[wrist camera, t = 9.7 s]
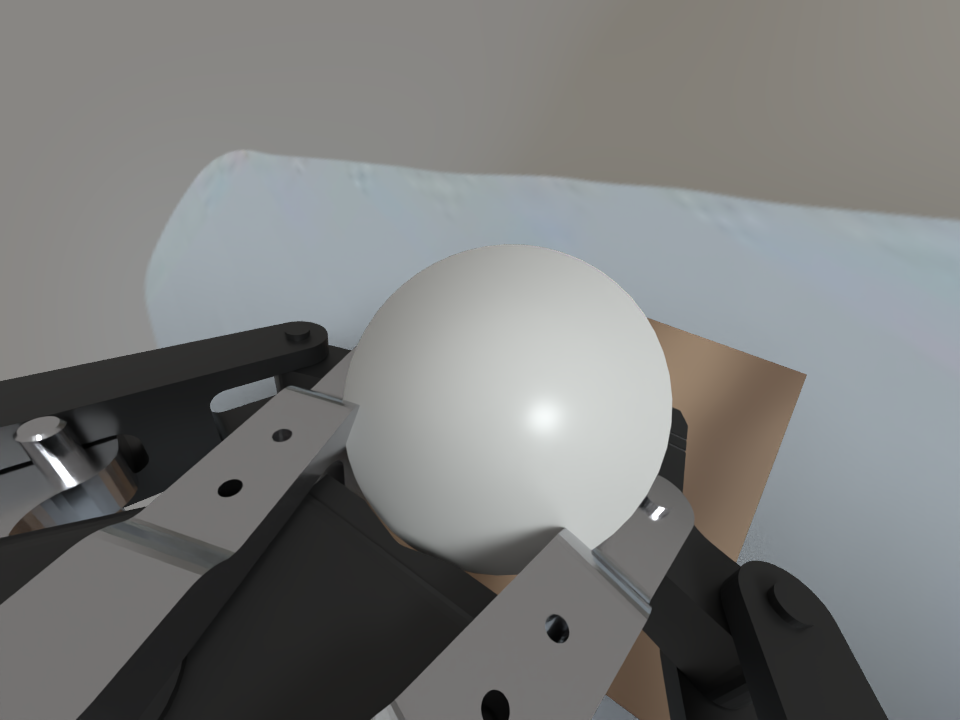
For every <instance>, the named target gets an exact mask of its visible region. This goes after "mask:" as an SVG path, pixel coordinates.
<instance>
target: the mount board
mask: <svg viewBox="0 0 960 720" xmlns="http://www.w3.org/2000/svg"><path fill="white" fill-rule="evenodd" d="M647 319H648V321H649V323H650V324H651V326H652V328H653V329H654V331H655V333H656V336H657V338H658V340H659V343H660V345H661V347H662V350H663V352H664V356H665V359H666V363H667V367H668V371H669V375H670V383H671V392H672V407H673V408H676V409H678V410H680V411H681V413H682V415H683V417H684V419H685V421H686V423H687V425H688V432H687V440H686V441H687V445H686V451H685V453H686V458H685V471H684V484H683V494H684V496H685V497H686V498H687V500H688V501H689V503H690V505H691V507H692V509H693V512H694V518H695V521H694V525H695V526H696V528H697V529H698V530H699V531H700V532H701V533H702V534H703V535H704V537H705V538H706V539H708V540H709V541H710V542H711V543H712V544H713V545H715V546H716V547H717V548H718V549H720V550H721V551H722V552H723V553H724V554H726V555H727V556H728V557H729V558H731V559H732V560H733V561H734V562H737V559H738V556H739V554H740V551H741V548H742V546H743V543H744V540H745V538H746V535H747V532H748V530H749V527H750V524H751V522H752V519H753V516H754V514H755V511H756V508H757V506H758V503H759V501H760V498H761V495H762V493H763V490H764V487H765V485H766V482H767V479H768V477H769V474H770V471H771V469H772V466H773V463H774V461H775V458H776V455H777V453H778V450H779V447H780V445H781V442H782V439H783V437H784V434H785V431H786V429H787V426H788V423H789V421H790V418H791V415H792V413H793V410H794V407H795V405H796V402H797V399H798V397H799V394H800V392H801V389H802V386H803V384H804V381H805V378H806V376H807V375H806V374H804V373H801V372H798V371H795V370H792V369H789V368H787V367H784V366H781V365H778V364H775V363H773V362H770V361H767V360H764V359H761V358H759V357H756V356H753V355H750V354H747V353H745V352H742V351H739V350H736V349H733V348H730V347H728V346H725V345H722V344H719V343H716V342H714V341H711V340H708V339H705V338H702V337H700V336H697V335H694V334H691V333H688V332H686V331H683V330H680V329H677V328H674V327H671V326H669V325H666V324H663V323H660V322H657V321H655V320H652V319H649V318H647ZM367 504H368V505H369V506H370V508H371V509H372V510H373V508H372V507H371V505H370V504H369V502H368V501H367ZM373 512H374V513H375V511H374V510H373ZM375 514H376V513H375ZM376 515H377V514H376ZM377 517H378V518H379V516H378V515H377ZM379 519H380V518H379ZM380 521H381V522H382V523H383V525H384V526H385V527H386V529H387V530H388V531H389V533H390V534H391V535H392V537H393V538H394V539H395V540H396V541H397V542H398V543H400V544H401V545H403V546H405V547H408V548H410V549H413V550H416V549H414V548H412V547H411V546H409V545H408V544H407V543H405V542H404V541H403V540H402V539H401V538H399V537H398V536H397V535H396V534H395V533H393V532H392V531H391V530H390V529H389V528H388V526H387V525H386V524H385V523H384V522H383V521H382V520H381V519H380ZM416 551H417V550H416ZM465 572H466V573H468V574H469V575H471V576H472V577H473V578H475V579H476V580H478V581H479V582H480V583H482V584H483V585H485V586H486V587H487V588H489V589H490V590H492V591H493V592H494V593H496V594H497V595H499V593H500V592H501V591H502V590H503V589H504V588H505V587H506V586H507V585H508V584H509V583H510V582H511V581H512V580H513V579H514V578H515V577H516V576H517V575H497V576H496V575H488V574H479V573H471V572H468V571H465ZM606 695H607V696H608V697H610V698H611V699H612V700H614V701H615V702H616V703H618V704H619V705H621V706H622V707H623V708H625V709H626V710H627V711H629V712H630V713H631V714H633V715H634V716H636V717H637V718H638V719H640V720H670V714H669V708H668V702H667V695H666V689H665V683H664V677H663V671H662V665H661V659H660V648H659V647H658V646H657V645H656V644H655V643H654V642H653V641H652V640H651V639H650V638H649V637H648V635H647V634H646V633H645V632H644V631H643V630H641V632H640V634H639V636H638V637H637V639H636V641H635V643H634V644H633V646H632V648H631V650H630V652H629V653H628V655H627V657H626V659H625V660H624V662H623V664H622V666H621V667H620V669H619V671H618V673H617V675H616V676H615V678H614V680H613V682H612V683H611V685H610V687H609V689H608V691H607V692H606Z"/></svg>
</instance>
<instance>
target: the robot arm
mask: <svg viewBox="0 0 960 720" xmlns="http://www.w3.org/2000/svg"><path fill="white" fill-rule="evenodd" d="M356 347H357V346H356ZM356 347H355V348H354V349H353V350H352V351H351V350H347V349H343V348H339V347H335V346H331V345H328V334H327V331H326V329H325V328H324V327H322V326H320V325H318V324H315V323H312V322H303V321H297V322H288V323H283V324H278V325H273V326H269V327H264V328H259V329H254V330H249V331H244V332H239V333H234V334H229V335H224V336H220V337H215V338H210V339H205V340H200V341H195V342H190V343H185V344H180V345H175V346H171V347H166V348H161V349H156V350H151V351H146V352H141V353H136V354H132V355H126V356H122V357H117V358H112V359H107V360H102V361H97V362H92V363H87V364H82V365H77V366H73V367H68V368H63V369H58V370H53V371H48V372H43V373H38V374H33V375H29V376H24V377H19V378H14V379H9V380H4V381H0V720H591V719H592V717H593V715H594V714H595V712H596V710H597V708H598V707H599V705H600V703H601V701H602V699H603V698H604V696H605V694H606V692H607V691H608V689H609V687H610V685H611V683H612V682H613V680H614V678H615V676H616V675H617V673H618V671H619V669H620V667H621V666H622V664H623V662H624V660H625V659H626V657H627V655H628V653H629V652H630V650H631V648H632V646H633V644H634V643H635V641H636V639H637V637H638V636H639V634H640V632H641V630H643V631H644V632H645V633H646V634H647V635H648V637H649V638H650V639H651V640H652V641H653V642H654V643H655V644H656V645H657V646H658V647H659V648H660V659H661V665H662V671H663V677H664V683H665V689H666V695H667V702H668V708H669V714H670V720H888V718H887V716H886V715H885V713H884V711H883V709H882V707H881V705H880V703H879V702H878V700H877V698H876V696H875V694H874V692H873V690H872V689H871V687H870V685H869V683H868V681H867V679H866V677H865V675H864V674H863V672H862V670H861V668H860V666H859V664H858V662H857V661H856V659H855V657H854V655H853V653H852V651H851V649H850V648H849V646H848V644H847V642H846V640H845V638H844V636H843V635H842V633H841V631H840V629H839V627H838V625H837V623H836V622H835V620H834V618H833V617H832V615H831V613H830V612H829V611H828V609H827V608H826V607H825V605H824V604H823V603H822V602H821V601H820V599H819V598H818V597H817V596H816V595H815V594H814V593H813V592H812V591H811V590H810V589H809V588H808V587H807V586H806V585H804V584H803V583H802V582H801V581H800V580H798V579H797V578H796V577H794V576H793V575H791V574H790V573H788V572H787V571H785V570H783V569H781V568H779V567H777V566H775V565H773V564H770V563H767V562H763V561H749V562H747V563H745V564H744V565H742V566H739V565H738V564H737V563H736V562H734V561H733V560H732V559H731V558H729V557H728V556H727V555H726V554H724V553H723V552H722V551H721V550H720V549H718V548H717V547H716V546H715V545H713V544H712V543H711V542H710V541H709V540H708V539H706V538H705V537H704V535H703V534H702V533H701V532H700V531H699V530H698V529H697V528H696V526H695V525H694V521H695V518H694V512H693V509H692V507H691V505H690V503H689V501H688V500H687V498H686V497H685V496H684V494H683V484H684V471H685V458H686V453H685V451H686V445H687V441H686V440H687V432H688V425H687V423H686V421H685V419H684V417H683V415H682V413H681V411H680V410H678V409H676V408H673V407H672V422H671V429H670V434H669V440H668V445H667V449H666V452H665V455H664V458H663V461H662V464H661V467H660V470H659V472H658V474H657V476H656V478H655V480H654V482H653V484H652V486H651V488H650V490H649V492H648V494H647V495H646V497H645V498H644V499H643V501H642V502H641V504H640V505H639V506H638V508H637V509H636V510H635V512H634V513H633V515H632V516H631V517H630V518H629V519H628V520H627V521H626V522H625V523H624V524H623V525H622V526H621V527H620V528H619V529H618V530H617V531H616V532H615V533H614V534H613V535H611V536H610V537H609V538H607V539H606V540H605V541H603V542H602V543H601V544H599V545H598V546H597V547H595V548H594V549H593V550H591V549H590V548H588V547H587V546H586V545H585V544H584V543H583V542H582V541H581V540H579V539H578V538H577V537H576V536H575V535H574V534H573V533H571V532H570V531H569V530H568V529H566V528H564V529H563V530H562V531H561V532H560V533H558V534H557V535H556V536H555V537H554V538H553V539H552V540H551V541H550V542H549V543H548V545H547V546H546V547H545V548H544V549H543V550H542V551H541V552H540V553H539V554H538V555H537V556H536V557H535V558H534V559H533V560H532V561H531V562H530V563H529V564H528V565H527V566H526V567H525V568H524V569H523V570H522V571H521V572H520V573H519V574H518V575H517V576H516V577H515V578H514V579H513V580H512V581H511V582H510V583H509V584H508V585H507V586H506V587H505V588H504V589H503V590H502V591H501V592H500V593H499V595H497V594H496V593H494V592H493V591H492V590H490V589H489V588H487V587H486V586H485V585H483V584H482V583H480V582H479V581H478V580H476V579H475V578H473V577H472V576H471V575H469V574H468V573H466V572H465V571H464V570H462V569H461V568H459V567H458V566H456V565H454V564H451V563H448V562H446V561H443V560H440V559H438V558H435V557H432V556H429V555H427V554H424V553H421V552H419V551H416V550H413V549H410V548H408V547H405V546H403V545H401V544H399V543H398V542H397V541H396V540H395V539H394V538H393V537H392V535H391V534H390V533H389V531H388V530H387V529H386V527H385V526H384V525H383V523H382V522H381V521H380V519H379V518H378V517H377V515H376V514H375V513H374V512H373V510H372V509H371V508H370V506H369V505H368V504H367V499H366V498H365V497H364V495H363V492H362V490H361V488H360V486H359V484H358V482H357V480H356V478H355V476H354V473H353V470H352V467H351V464H350V462H349V459H348V454H347V449H346V442H347V440H348V437H349V434H350V431H351V429H352V426H353V423H354V420H355V418H356V415H357V412H358V409H359V406H360V405H358V404H355V403H353V402H349V401H346V400H343V397H344V390H345V383H346V378H347V374H348V371H349V367H350V363H351V360H352V358H353V355H354V353H355V350H356ZM273 376H274V378H275V383H276V389H277V395H275V396H272V397H269V398H265V399H262V400H259V401H256V402H253V403H250V404H247V405H244V406H240V407H237V408H234V409H231V410H228V411H225V412H219V413H216V412H211V409H210V403H211V400H212V399H213V398H214V397H215V396H216V395H217V394H218V393H220V392H222V391H225V390H228V389H231V388H235V387H238V386H242V385H245V384H249V383H252V382H256V381H259V380H263V379H266V378H270V377H273ZM161 492H163V493H162V494H161V495H160V496H159V497H157V498H156V499H155V500H154V501H153V502H152V503H150V504H149V505H148V506H147V507H142V508H138V509H133V510H129V511H125V509H124V507H127V506H129V505H132V504H134V503H137V502H139V501H142V500H144V499H147V498H149V497H151V496H154V495H156V494H159V493H161Z"/></svg>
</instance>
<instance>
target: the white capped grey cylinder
mask: <svg viewBox="0 0 960 720" xmlns="http://www.w3.org/2000/svg"><path fill="white" fill-rule="evenodd" d="M343 400H346V401H349V402H353V403H355V404H358V405H360V406H359V409H358V412H357V415H356V418H355V420H354V423H353V426H352V429H351V431H350V434H349V437H348V440H347V442H346V449H347V454H348V459H349V462H350V464H351V467H352V470H353V473H354V476H355V478H356V480H357V482H358V484H359V486H360V488H361V490H362V492H363V495H364V497H365V498H366V499H367V501H368V502H369V504H370V505H371V507H372V508H373V510H374V511H375V513H376V514H377V515H378V516H379V518H380V519H381V520H382V521H383V522H384V523H385V524H386V525H387V526H388V528H389V529H390V530H391V531H392V532H393V533H395V534H396V535H397V536H398V537H399V538H401V539H402V540H403V541H404V542H405V543H407V544H408V545H409V546H411V547H412V548H414V549H416V550H417V551H419V552H421V553H424V554H427V555H429V556H432V557H435V558H438V559H440V560H443V561H446V562H448V563H451V564H454V565H456V566H458V567H459V568H461V569H462V570H464V571H468V572H471V573H479V574H488V575H496V576H497V575H518V574H519V573H520V572H521V571H522V570H523V569H524V568H525V567H526V566H527V565H528V564H529V563H530V562H531V561H532V560H533V559H534V558H535V557H536V556H537V555H538V554H539V553H540V552H541V551H542V550H543V549H544V548H545V547H546V546H547V545H548V543H549V542H550V541H551V540H552V539H553V538H554V537H555V536H556V535H557V534H558V533H560V532H561V531H562V530H563V529H564V528H566V529H568V530H569V531H570V532H571V533H573V534H574V535H575V536H576V537H577V538H578V539H579V540H581V541H582V542H583V543H584V544H585V545H586V546H587V547H588V548H590V549H591V550H593V549H594V548H595V547H597V546H598V545H599V544H601V543H602V542H603V541H605V540H606V539H607V538H609V537H610V536H611V535H613V534H614V533H615V532H616V531H617V530H618V529H619V528H620V527H621V526H622V525H623V524H624V523H625V522H626V521H627V520H628V519H629V518H630V517H631V516H632V515H633V513H634V512H635V510H636V509H637V508H638V506H639V505H640V504H641V502H642V501H643V499H644V498H645V497H646V495H647V494H648V492H649V490H650V488H651V486H652V484H653V482H654V480H655V478H656V476H657V474H658V472H659V470H660V467H661V464H662V461H663V458H664V455H665V452H666V449H667V445H668V440H669V434H670V429H671V422H672V392H671V383H670V375H669V371H668V367H667V363H666V359H665V356H664V352H663V350H662V347H661V345H660V343H659V340H658V338H657V336H656V333H655V331H654V329H653V328H652V326H651V324H650V323H649V321H648V319H647V318H646V316H645V314H644V313H643V311H642V310H641V309H640V308H639V306H638V305H637V304H636V303H635V301H634V300H633V299H632V298H631V296H630V295H629V294H628V293H626V292H625V291H624V290H623V289H622V288H621V287H620V286H619V285H618V284H617V283H616V282H615V281H614V280H612V279H611V278H610V277H608V276H607V275H605V274H604V273H603V272H601V271H600V270H599V269H597V268H595V267H593V266H591V265H590V264H588V263H586V262H584V261H582V260H580V259H578V258H575V257H573V256H570V255H568V254H565V253H563V252H559V251H555V250H552V249H548V248H544V247H537V246H530V245H511V244H504V245H494V246H485V247H480V248H476V249H471V250H467V251H464V252H461V253H458V254H455V255H452V256H449V257H447V258H445V259H443V260H441V261H439V262H436V263H434V264H432V265H431V266H429V267H427V268H426V269H424V270H422V271H421V272H419V273H417V274H416V275H415V276H414V277H412V278H411V279H410V280H408V281H407V282H406V283H404V284H403V285H402V286H401V287H400V288H399V289H398V290H397V291H396V292H395V293H393V294H392V295H391V296H390V297H389V298H388V300H387V301H386V302H385V303H384V304H383V305H382V307H381V308H380V309H379V310H378V311H377V313H376V314H375V316H374V317H373V319H372V320H371V322H370V323H369V325H368V326H367V328H366V330H365V331H364V333H363V335H362V337H361V339H360V341H359V343H358V345H357V347H356V350H355V353H354V355H353V358H352V360H351V363H350V367H349V371H348V374H347V378H346V383H345V390H344V397H343Z"/></svg>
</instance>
